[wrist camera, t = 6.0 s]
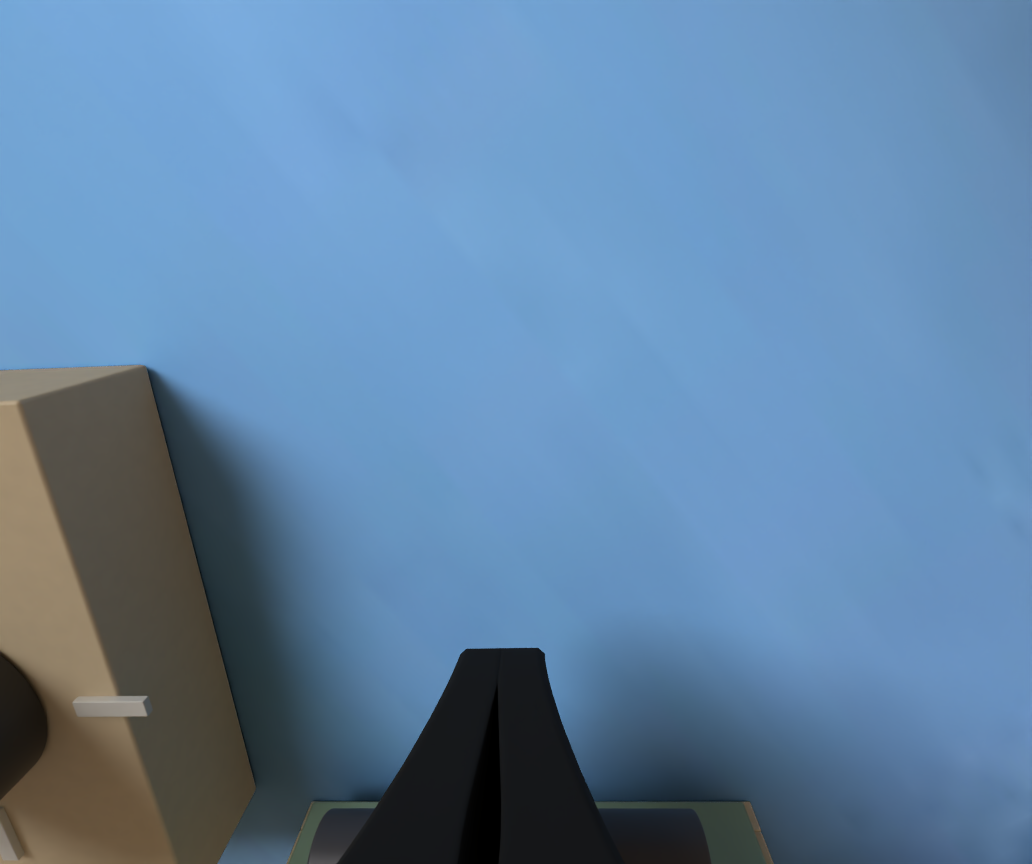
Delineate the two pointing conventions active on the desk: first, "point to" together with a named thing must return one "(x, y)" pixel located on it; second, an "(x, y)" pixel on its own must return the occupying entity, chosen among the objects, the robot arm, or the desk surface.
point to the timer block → (109, 632)
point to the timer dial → (18, 727)
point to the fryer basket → (632, 825)
